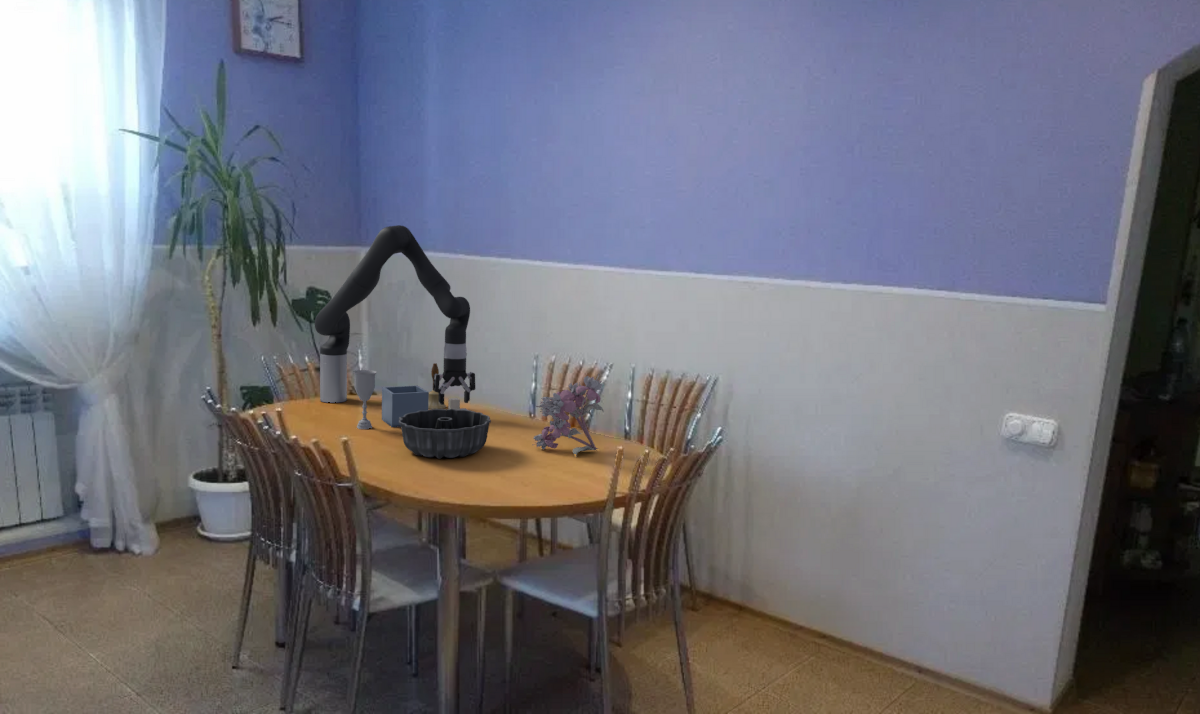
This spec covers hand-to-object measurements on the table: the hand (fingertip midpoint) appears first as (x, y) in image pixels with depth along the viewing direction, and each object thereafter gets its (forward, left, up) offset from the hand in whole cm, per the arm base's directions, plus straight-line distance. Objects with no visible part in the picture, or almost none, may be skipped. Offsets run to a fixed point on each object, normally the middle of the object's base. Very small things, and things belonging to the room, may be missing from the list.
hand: (454, 403), depth 290 cm
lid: (0, 0, -6) cm, 6 cm away
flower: (+51, +15, -6) cm, 53 cm away
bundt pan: (+39, -17, -6) cm, 43 cm away
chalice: (+3, -31, -6) cm, 32 cm away
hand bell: (-20, 0, -6) cm, 21 cm away
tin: (0, -17, -5) cm, 18 cm away
